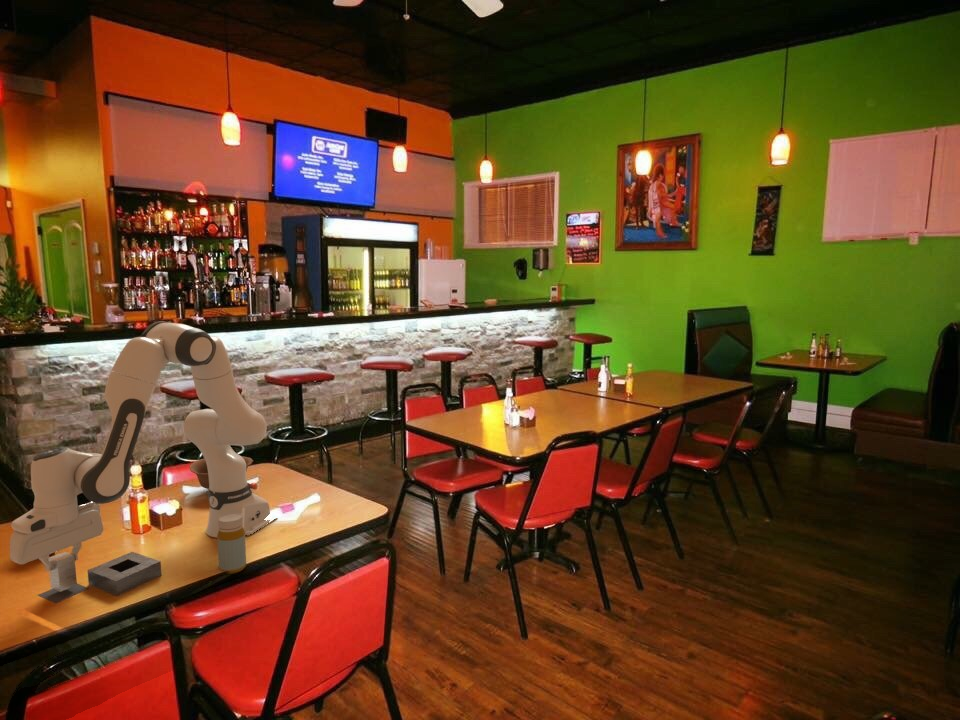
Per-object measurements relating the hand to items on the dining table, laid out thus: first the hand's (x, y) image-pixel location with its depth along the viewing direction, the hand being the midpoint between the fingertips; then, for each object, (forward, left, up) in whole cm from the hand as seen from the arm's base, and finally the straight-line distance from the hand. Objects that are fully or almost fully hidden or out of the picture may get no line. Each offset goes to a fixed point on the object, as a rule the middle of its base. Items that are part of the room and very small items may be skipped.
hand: (61, 565), depth 152 cm
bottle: (-30, +26, -8) cm, 40 cm away
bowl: (-71, -27, -8) cm, 76 cm away
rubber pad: (0, 0, -8) cm, 8 cm away
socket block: (-11, +8, -8) cm, 16 cm away
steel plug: (0, 0, -6) cm, 6 cm away
